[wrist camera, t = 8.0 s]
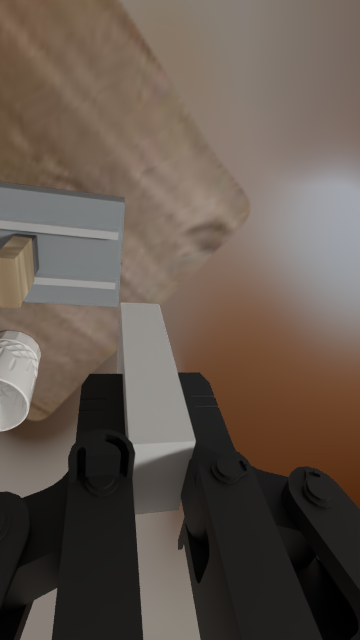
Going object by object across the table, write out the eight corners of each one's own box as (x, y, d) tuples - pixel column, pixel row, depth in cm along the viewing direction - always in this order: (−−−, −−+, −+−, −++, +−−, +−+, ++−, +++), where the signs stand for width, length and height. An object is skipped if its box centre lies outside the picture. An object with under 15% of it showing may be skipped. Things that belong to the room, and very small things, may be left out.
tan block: (36, 231, 33) (14, 258, 26) (39, 272, 35) (19, 308, 28) (15, 229, 33) (-13, 256, 25) (19, 270, 35) (-6, 306, 27)
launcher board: (124, 197, 36) (125, 205, 32) (117, 296, 42) (118, 312, 38) (-86, 171, 31) (-114, 176, 28) (-61, 285, 37) (-81, 302, 33)
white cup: (-18, 373, 44) (-51, 431, 35) (-22, 322, 40) (-59, 374, 32) (44, 376, 46) (28, 433, 37) (46, 329, 42) (29, 379, 34)
